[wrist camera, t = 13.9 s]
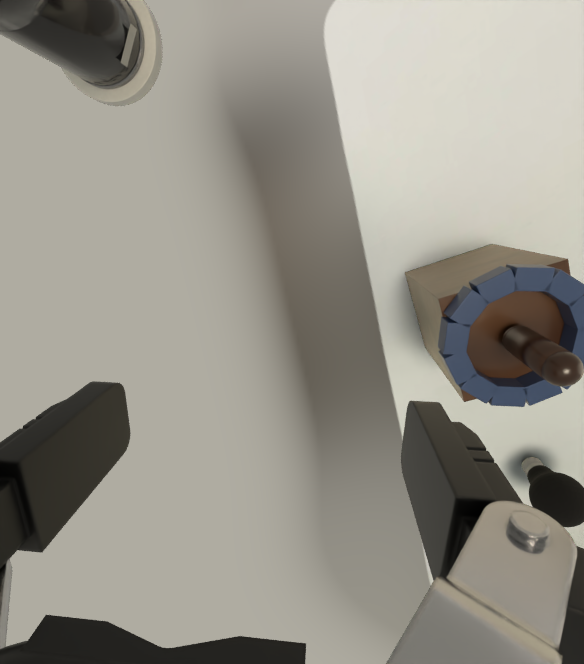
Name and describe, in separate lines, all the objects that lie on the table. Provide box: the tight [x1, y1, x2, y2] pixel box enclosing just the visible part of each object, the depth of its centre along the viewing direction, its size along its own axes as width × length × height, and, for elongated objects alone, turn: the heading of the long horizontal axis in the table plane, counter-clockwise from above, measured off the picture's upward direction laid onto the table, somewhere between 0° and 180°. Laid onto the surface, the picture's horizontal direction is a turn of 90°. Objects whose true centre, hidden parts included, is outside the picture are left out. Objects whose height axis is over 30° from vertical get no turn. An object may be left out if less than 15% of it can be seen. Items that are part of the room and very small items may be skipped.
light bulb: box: [522, 457, 584, 527], centre depth 45 cm, size 6×6×10 cm
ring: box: [438, 264, 584, 407], centre depth 30 cm, size 12×12×2 cm
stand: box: [405, 244, 584, 402], centre depth 34 cm, size 10×10×22 cm
